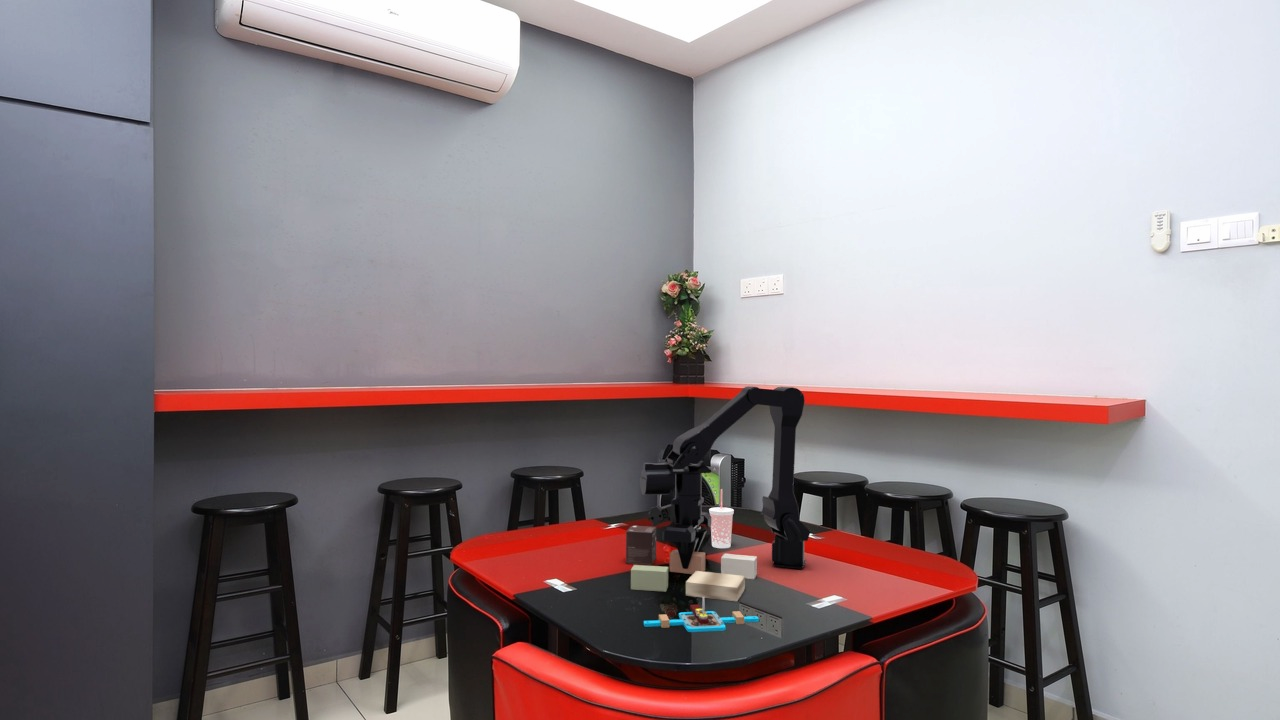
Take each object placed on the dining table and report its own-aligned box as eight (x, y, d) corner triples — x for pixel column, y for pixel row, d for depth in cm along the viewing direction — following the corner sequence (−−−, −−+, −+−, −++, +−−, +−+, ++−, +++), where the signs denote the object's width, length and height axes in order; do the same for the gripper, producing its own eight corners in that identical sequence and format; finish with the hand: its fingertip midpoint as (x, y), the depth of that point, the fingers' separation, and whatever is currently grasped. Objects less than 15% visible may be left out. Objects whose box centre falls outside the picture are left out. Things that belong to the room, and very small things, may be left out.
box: (651, 565, 156) (652, 532, 156) (625, 563, 157) (625, 530, 157) (656, 558, 162) (656, 526, 162) (631, 556, 163) (631, 525, 163)
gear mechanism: (639, 617, 125) (647, 637, 115) (639, 586, 125) (648, 604, 115) (748, 612, 128) (765, 632, 118) (748, 582, 128) (765, 599, 118)
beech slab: (744, 591, 140) (744, 575, 140) (737, 603, 132) (737, 587, 132) (695, 585, 143) (696, 570, 143) (685, 597, 135) (685, 581, 135)
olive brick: (668, 586, 141) (668, 566, 141) (665, 592, 138) (666, 571, 138) (633, 584, 142) (633, 564, 142) (630, 590, 139) (630, 569, 139)
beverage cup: (735, 549, 171) (735, 491, 171) (709, 549, 171) (710, 491, 171) (732, 543, 177) (732, 487, 177) (707, 542, 177) (708, 487, 177)
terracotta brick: (705, 571, 152) (705, 552, 152) (701, 575, 149) (701, 556, 149) (674, 567, 155) (674, 549, 155) (669, 572, 151) (669, 553, 151)
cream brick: (756, 575, 150) (756, 556, 150) (754, 579, 146) (754, 560, 146) (724, 572, 152) (724, 553, 152) (721, 576, 149) (721, 557, 149)
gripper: (665, 484, 164) (664, 552, 163) (638, 498, 146) (638, 574, 146) (712, 487, 160) (711, 556, 160) (690, 502, 142) (690, 579, 142)
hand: (687, 566), depth 152 cm, fingers closed on terracotta brick, 3 cm apart
